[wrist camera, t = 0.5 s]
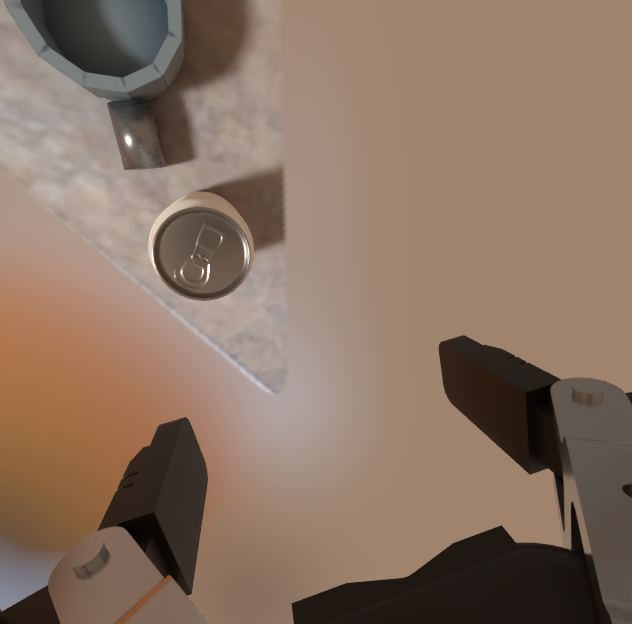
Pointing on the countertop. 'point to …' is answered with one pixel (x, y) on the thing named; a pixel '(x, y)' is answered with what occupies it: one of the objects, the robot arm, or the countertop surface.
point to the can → (201, 247)
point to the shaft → (136, 134)
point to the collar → (107, 42)
